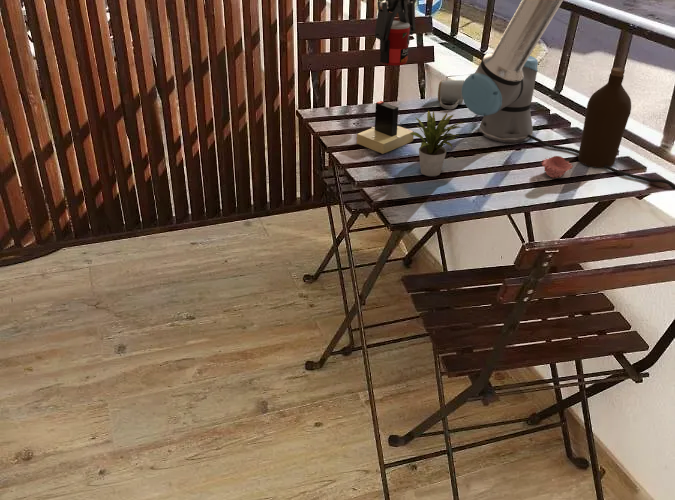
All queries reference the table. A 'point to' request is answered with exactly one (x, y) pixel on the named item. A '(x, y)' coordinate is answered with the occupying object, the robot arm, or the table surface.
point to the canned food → (398, 43)
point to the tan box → (384, 139)
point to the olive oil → (605, 122)
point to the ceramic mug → (450, 93)
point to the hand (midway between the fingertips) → (394, 59)
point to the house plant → (434, 144)
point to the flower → (556, 166)
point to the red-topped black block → (386, 118)
